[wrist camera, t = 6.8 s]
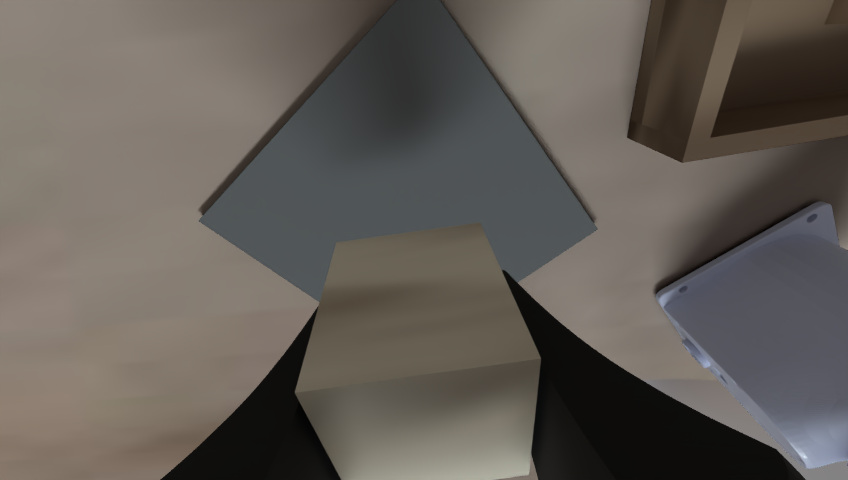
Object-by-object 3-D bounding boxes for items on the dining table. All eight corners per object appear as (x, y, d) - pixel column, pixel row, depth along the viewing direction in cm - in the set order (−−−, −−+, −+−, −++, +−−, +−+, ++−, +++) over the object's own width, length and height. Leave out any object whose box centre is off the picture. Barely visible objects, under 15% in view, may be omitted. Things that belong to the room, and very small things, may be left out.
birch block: (483, 325, 12) (529, 474, 8) (366, 341, 12) (351, 499, 8) (480, 222, 10) (541, 358, 6) (336, 242, 10) (295, 392, 6)
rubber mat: (402, 353, 22) (403, 358, 22) (202, 217, 16) (198, 220, 16) (594, 225, 18) (597, 229, 18) (420, -26, 12) (421, -27, 12)
